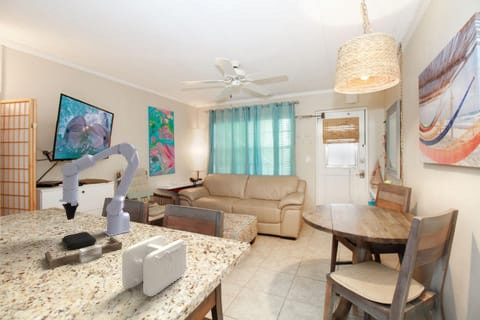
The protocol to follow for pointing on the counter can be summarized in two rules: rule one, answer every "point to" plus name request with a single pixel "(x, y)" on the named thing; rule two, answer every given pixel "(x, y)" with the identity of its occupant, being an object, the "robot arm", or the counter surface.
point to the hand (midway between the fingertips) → (70, 219)
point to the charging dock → (84, 254)
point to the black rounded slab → (78, 240)
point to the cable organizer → (153, 264)
